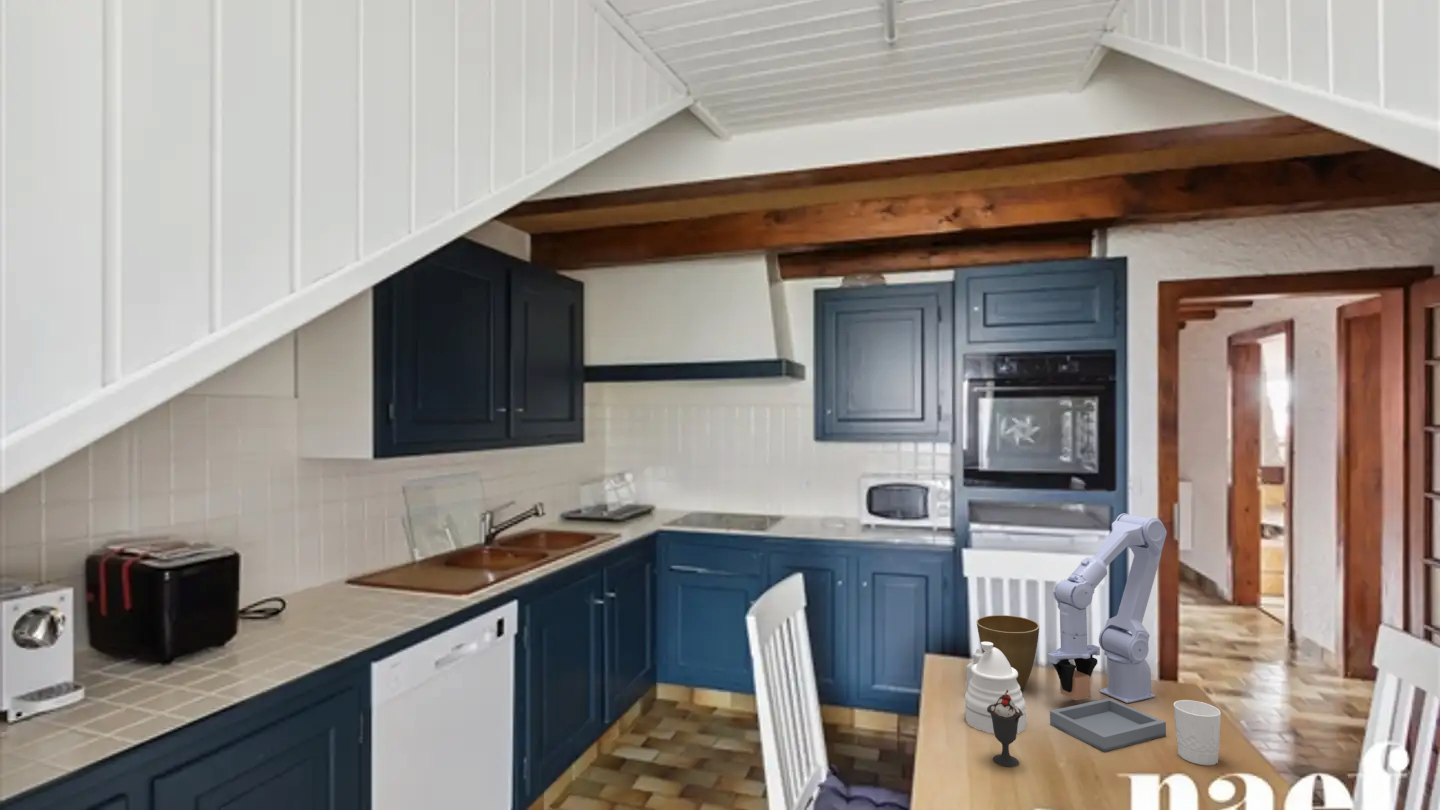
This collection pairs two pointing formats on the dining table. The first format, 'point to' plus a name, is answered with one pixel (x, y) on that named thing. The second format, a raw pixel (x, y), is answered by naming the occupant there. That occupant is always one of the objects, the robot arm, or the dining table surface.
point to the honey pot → (992, 689)
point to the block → (1078, 686)
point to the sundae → (1005, 727)
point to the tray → (1107, 724)
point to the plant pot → (1012, 641)
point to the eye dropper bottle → (975, 660)
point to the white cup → (1197, 731)
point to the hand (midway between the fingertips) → (1074, 688)
